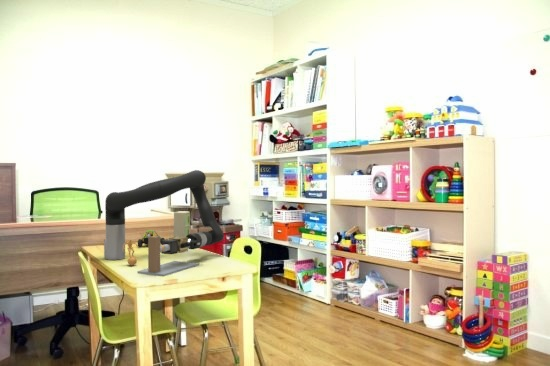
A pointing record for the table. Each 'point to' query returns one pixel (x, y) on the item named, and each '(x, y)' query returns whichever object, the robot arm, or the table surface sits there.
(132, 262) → the figurine
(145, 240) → the motor vehicle
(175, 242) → the dark grey slab
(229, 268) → the table surface
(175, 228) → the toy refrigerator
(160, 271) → the pipe rig
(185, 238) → the sleeve
